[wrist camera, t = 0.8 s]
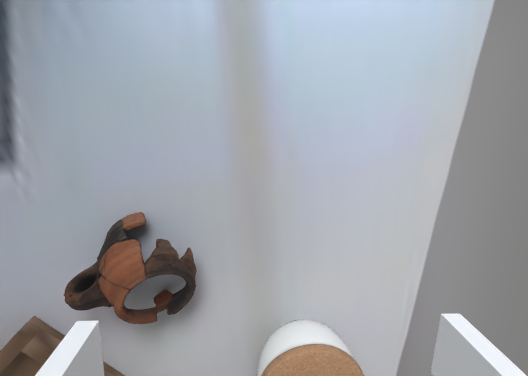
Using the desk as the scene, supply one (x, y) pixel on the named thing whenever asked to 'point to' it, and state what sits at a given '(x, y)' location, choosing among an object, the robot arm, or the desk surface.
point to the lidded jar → (306, 352)
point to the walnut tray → (34, 350)
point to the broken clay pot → (131, 275)
